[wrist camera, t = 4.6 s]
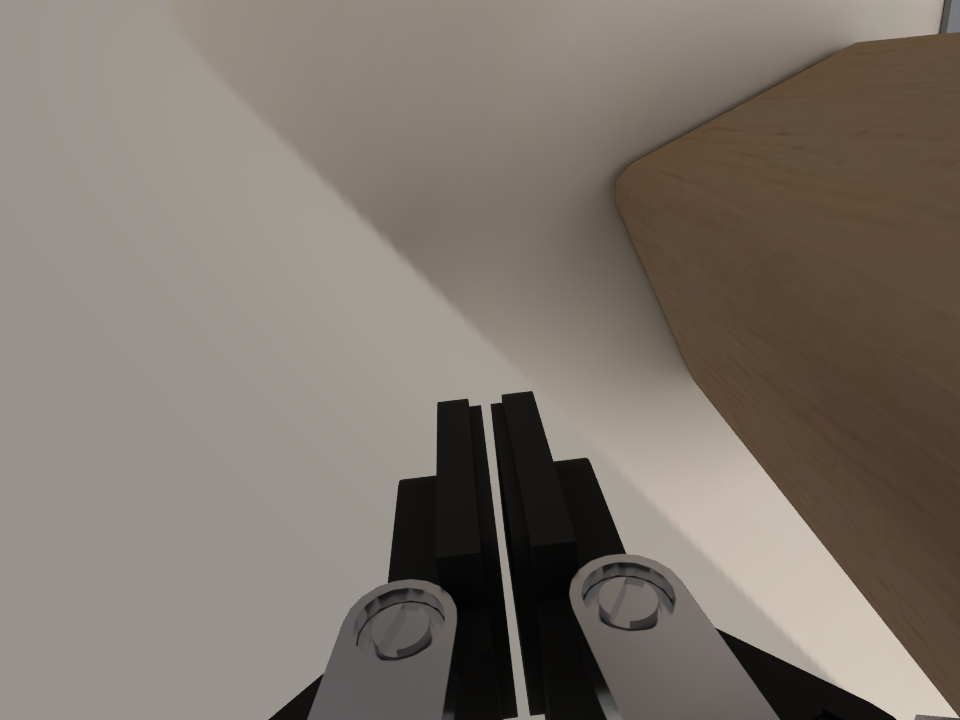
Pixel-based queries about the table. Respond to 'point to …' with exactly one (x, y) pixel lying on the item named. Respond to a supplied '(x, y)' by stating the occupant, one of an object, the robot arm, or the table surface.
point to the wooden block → (832, 310)
